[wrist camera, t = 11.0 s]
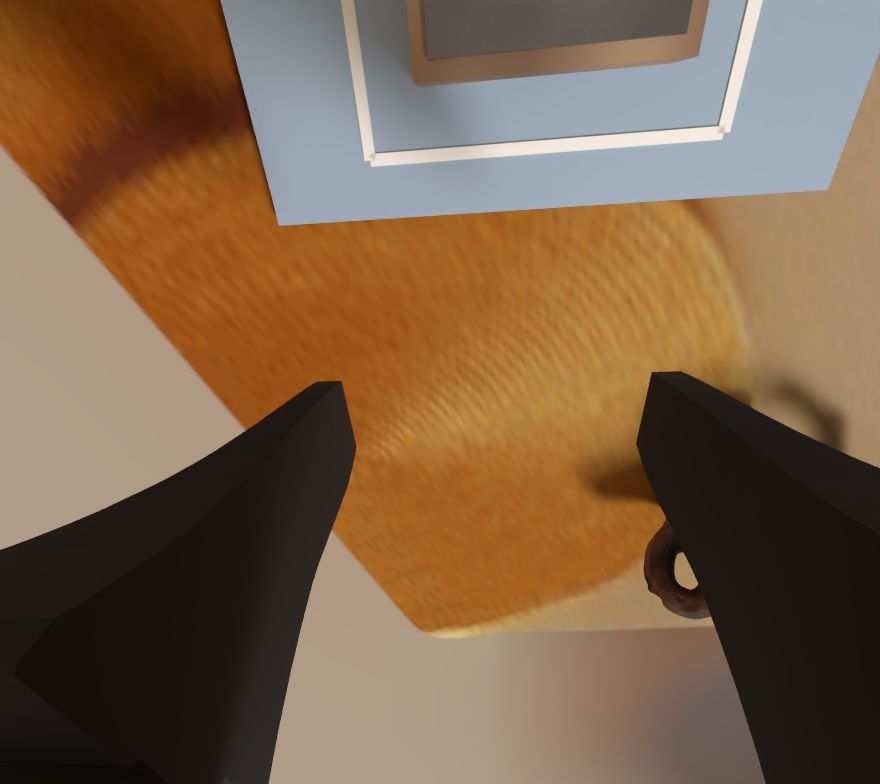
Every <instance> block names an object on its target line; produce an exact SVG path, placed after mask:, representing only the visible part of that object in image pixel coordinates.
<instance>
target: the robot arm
mask: <svg viewBox="0 0 880 784" xmlns="http://www.w3.org/2000/svg"><path fill="white" fill-rule="evenodd" d="M636 444H637V448H638V451H639V454H640V457H641V461H642V464H643V467H644V470H645V473H646V476H647V479H648V481H649V483H650V486H651V488H652V490H653V492H654V494H655V496H656V498H657V500H658V502H659V504H660V506H661V508H662V510H663V512H664V514H665V516H666V518H667V520H668V522H669V524H670V526H671V528H672V530H673V532H674V534H675V536H676V538H677V540H678V542H679V544H680V546H681V548H682V550H683V552H684V554H685V556H686V558H687V560H688V562H689V564H690V566H691V568H692V570H693V573H694V575H695V577H696V579H697V581H698V584H699V586H700V588H701V591H702V593H703V596H704V599H705V601H706V604H707V607H708V609H709V612H710V615H711V617H712V620H713V623H714V625H715V628H716V631H717V633H718V636H719V639H720V641H721V645H722V647H723V650H724V653H725V656H726V659H727V662H728V665H729V668H730V671H731V673H732V676H733V679H734V682H735V685H736V688H737V691H738V694H739V697H740V700H741V704H742V707H743V710H744V713H745V716H746V719H747V723H748V725H749V729H750V732H751V735H752V738H753V741H754V745H755V748H756V751H757V754H758V758H759V761H760V765H761V768H762V772H763V775H764V779H765V782H766V784H880V468H878V467H875V466H873V465H870V464H868V463H866V462H863V461H861V460H858V459H856V458H853V457H851V456H849V455H847V454H844V453H842V452H840V451H838V450H835V449H833V448H831V447H829V446H827V445H825V444H823V443H820V442H818V441H816V440H814V439H812V438H810V437H808V436H806V435H804V434H802V433H800V432H797V431H795V430H793V429H791V428H789V427H787V426H785V425H783V424H781V423H780V422H778V421H776V420H774V419H772V418H770V417H768V416H766V415H764V414H762V413H760V412H758V411H757V410H755V409H753V408H751V407H749V406H747V405H745V404H743V403H742V402H740V401H738V400H736V399H734V398H732V397H730V396H729V395H727V394H725V393H723V392H721V391H719V390H718V389H716V388H714V387H712V386H710V385H708V384H706V383H704V382H702V381H700V380H698V379H696V378H694V377H692V376H690V375H688V374H686V373H683V372H681V371H678V372H652V374H651V379H650V383H649V388H648V392H647V397H646V401H645V406H644V410H643V415H642V419H641V424H640V428H639V433H638V437H637V442H636ZM355 452H356V443H355V439H354V434H353V430H352V425H351V421H350V417H349V412H348V408H347V404H346V399H345V395H344V390H343V386H342V382H341V381H326V382H316V383H314V384H312V385H311V386H309V387H307V388H306V389H304V390H303V391H302V392H300V393H299V394H297V395H296V396H294V397H293V398H292V399H290V400H289V401H287V402H286V403H285V404H283V405H282V406H281V407H279V408H278V409H276V410H275V411H274V412H272V413H271V414H269V415H268V416H267V417H265V418H264V419H262V420H261V421H260V422H258V423H257V424H255V425H254V426H252V427H251V428H249V429H248V430H246V431H245V432H243V433H242V434H240V435H239V436H237V437H236V438H234V439H233V440H231V441H230V442H228V443H227V444H225V445H224V446H222V447H220V448H219V449H217V450H216V451H214V452H213V453H211V454H209V455H208V456H206V457H204V458H203V459H201V460H199V461H198V462H196V463H194V464H193V465H191V466H189V467H187V468H185V469H183V470H182V471H180V472H178V473H176V474H174V475H173V476H171V477H169V478H167V479H165V480H163V481H161V482H159V483H157V484H155V485H153V486H151V487H149V488H147V489H145V490H143V491H141V492H139V493H137V494H134V495H132V496H130V497H128V498H126V499H124V500H122V501H120V502H117V503H115V504H113V505H111V506H109V507H107V508H105V509H102V510H100V511H98V512H96V513H93V514H91V515H89V516H86V517H84V518H82V519H80V520H77V521H74V522H72V523H70V524H67V525H65V526H63V527H60V528H57V529H55V530H52V531H50V532H47V533H45V534H42V535H39V536H37V537H34V538H32V539H29V540H26V541H24V542H21V543H19V544H16V545H13V546H10V547H8V548H5V549H2V550H0V784H268V783H269V778H270V772H271V767H272V761H273V756H274V751H275V745H276V740H277V734H278V729H279V724H280V720H281V715H282V710H283V705H284V700H285V696H286V691H287V686H288V681H289V677H290V672H291V668H292V664H293V659H294V655H295V651H296V647H297V642H298V638H299V633H300V630H301V625H302V621H303V618H304V613H305V610H306V606H307V602H308V598H309V594H310V591H311V587H312V583H313V580H314V577H315V574H316V571H317V567H318V564H319V562H320V559H321V556H322V553H323V551H324V548H325V546H326V543H327V540H328V537H329V535H330V532H331V529H332V527H333V524H334V521H335V519H336V516H337V513H338V511H339V508H340V505H341V503H342V500H343V497H344V494H345V492H346V489H347V486H348V483H349V479H350V475H351V471H352V466H353V461H354V456H355Z"/></svg>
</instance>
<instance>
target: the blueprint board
mask: <svg viewBox="0 0 880 784" xmlns="http://www.w3.org/2000/svg"><path fill="white" fill-rule="evenodd" d="M220 1H221V4H222V8H223V12H224V16H225V20H226V24H227V27H228V31H229V35H230V39H231V43H232V47H233V50H234V54H235V58H236V62H237V66H238V70H239V74H240V77H241V81H242V85H243V89H244V93H245V97H246V100H247V104H248V108H249V112H250V116H251V120H252V123H253V127H254V131H255V135H256V139H257V143H258V146H259V150H260V154H261V158H262V162H263V166H264V170H265V173H266V177H267V181H268V185H269V189H270V193H271V196H272V200H273V204H274V208H275V212H276V216H277V219H278V223H279V226H282V225H297V224H313V223H328V222H343V221H359V220H374V219H389V218H404V217H420V216H435V215H450V214H466V213H481V212H496V211H512V210H527V209H542V208H558V207H573V206H588V205H604V204H619V203H634V202H650V201H665V200H680V199H695V198H711V197H726V196H741V195H757V194H772V193H787V192H803V191H818V190H828V188H829V186H830V183H831V180H832V178H833V175H834V172H835V170H836V167H837V164H838V162H839V159H840V156H841V154H842V151H843V148H844V146H845V143H846V140H847V138H848V135H849V132H850V130H851V127H852V125H853V122H854V119H855V117H856V114H857V111H858V109H859V106H860V103H861V101H862V98H863V95H864V93H865V90H866V87H867V85H868V82H869V79H870V77H871V74H872V71H873V69H874V66H875V63H876V61H877V58H878V55H879V53H880V0H220Z"/></svg>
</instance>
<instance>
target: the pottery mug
mask: <svg viewBox="0 0 880 784" xmlns="http://www.w3.org/2000/svg"><path fill="white" fill-rule="evenodd" d="M681 552H683V550H682V548H681V546H680V544H679V542H678V540H677V538H676V536H675V534H674V532H673V530H672V528H671V526H670V524H669V522H668V520H667V518H666V521H665V522H664V524H663V526H662V527H661V528H660V530H659V531H658V532H657V533H656V534H655V535H654V537H653V538H652V540H651V541H650V542H649V544H648V546H647V549H646V553H645V559H644V576H645V580H646V581H647V584H648V590H649V591H650V592H651V593H653V594H655V595H657V596H658V597H660V598H661V599H662V602H663V605H664V606H665V607H666V608H667V609H668V610H670V611H671V612H673V613H675V614H677V615H680V616H683V617H685V618H690V619H702V618H706V617H710V616H711V615H710V612H709V609H708V607H707V604H706V601H705V599H704V596H703V593H702V591H701V588H700V586H699V584H698V586H697V587H696V588H694V589H692V590H689V589H686V588H684V587H682V586H680V585H679V584H678V582H677V581H676V579H675V575H674V568H675V567H674V564H675V559H676V555H677V554H678V553H681ZM683 553H684V552H683Z"/></svg>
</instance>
